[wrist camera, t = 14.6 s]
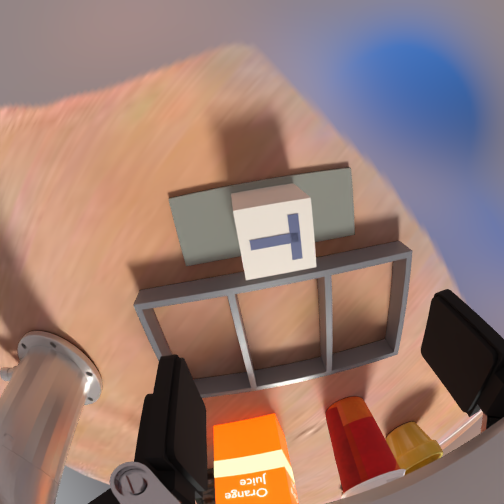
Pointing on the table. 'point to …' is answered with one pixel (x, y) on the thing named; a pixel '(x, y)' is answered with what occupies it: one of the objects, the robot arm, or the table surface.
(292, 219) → the letter cube
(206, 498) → the dark ornate vase
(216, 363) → the table surface
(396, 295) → the sorting box
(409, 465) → the plant pot
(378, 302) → the table surface
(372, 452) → the coffee cup
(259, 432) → the orange juice
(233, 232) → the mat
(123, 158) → the table surface
